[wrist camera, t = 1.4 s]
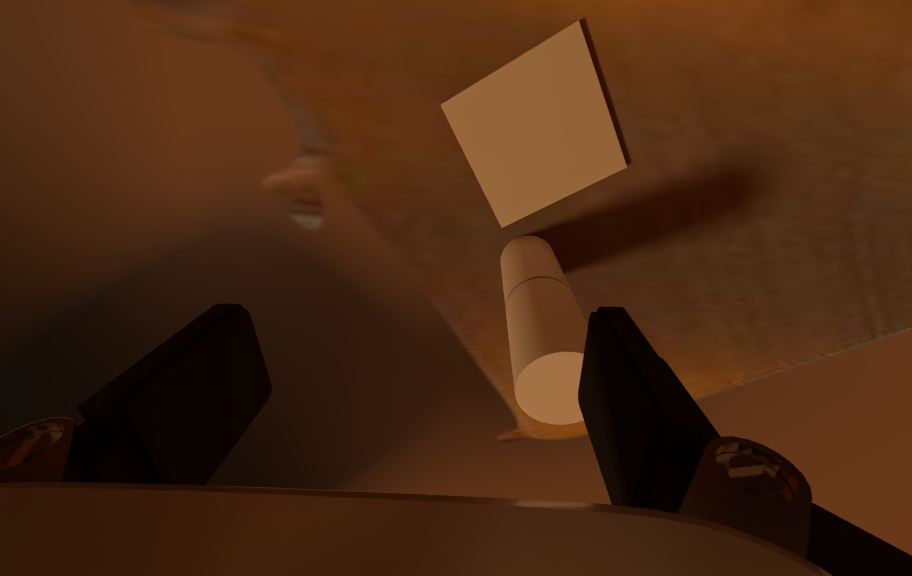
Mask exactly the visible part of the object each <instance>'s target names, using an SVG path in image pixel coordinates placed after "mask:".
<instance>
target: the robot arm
mask: <svg viewBox="0 0 912 576" xmlns="http://www.w3.org/2000/svg"><path fill="white" fill-rule="evenodd" d="M271 391H272V386H271V382H270V378H269V375H268V372H267V369H266V365H265V362H264V359H263V355H262V352H261V349H260V346H259V342H258V339H257V336H256V332H255V329H254V326H253V323H252V319H251V316H250V314H249V312H248V311H247V310H246V309H244V308H243V307H242V306H241V305H239V304H216V305H214V306H213V307H211V308H210V309H208V310H207V311H206V312H204V313H203V314H202V315H200V316H199V317H198V318H196V319H195V320H194V321H192V322H191V323H189V324H188V325H187V326H185V327H184V328H183V329H181V330H180V331H179V332H177V333H176V334H175V335H173V336H172V337H170V338H169V339H168V340H166V341H165V342H164V343H162V344H161V345H160V346H158V347H157V348H156V349H154V350H153V351H152V352H150V353H149V354H147V355H146V356H145V357H144V358H142V359H141V360H139V361H138V362H137V363H135V364H134V365H133V366H131V367H130V368H129V369H127V370H126V371H124V372H123V373H122V374H120V375H119V376H118V377H116V378H115V379H114V380H112V381H111V382H110V383H108V384H107V385H105V386H104V387H103V388H101V389H100V390H99V391H97V392H96V393H95V394H93V395H92V396H91V397H89V398H88V399H86V400H85V401H84V402H82V403H81V404H80V405H78V406H77V408H78V409H79V411H80V413H81V414H82V416H83V418H84V419H85V421H84V422H83V423H82V424H80V425H79V426H78V427H77V426H76V424H75V423H74V421H72V420H71V419H69V418H63V417H57V418H48V419H44V420H41V421H37V422H33V423H31V424H28V425H25V426H23V427H20V428H18V429H15V430H14V431H11V432H9V433H8V434H6V435H4V436H2V437H0V576H912V556H911V555H909V554H907V553H906V552H903V551H902V550H900V549H898V548H896V547H894V546H892V545H891V544H889V543H887V542H885V541H883V540H881V539H879V538H878V537H875V536H874V535H872V534H870V533H868V532H866V531H864V530H863V529H861V528H859V527H857V526H855V525H853V524H851V523H849V522H848V521H845V520H844V519H842V518H840V517H838V516H836V515H834V514H833V513H831V512H829V511H827V510H825V509H823V508H821V507H820V506H817V505H816V504H814V503H812V494H811V488H810V485H809V484H808V482H807V480H806V479H805V477H804V475H803V474H802V473H801V472H800V471H799V470H798V469H797V468H796V467H795V466H794V465H793V464H792V463H791V462H790V461H788V460H787V459H786V458H784V457H783V456H781V455H780V454H779V453H777V452H775V451H773V450H772V449H770V448H768V447H766V446H764V445H762V444H759V443H757V442H754V441H751V440H748V439H744V438H739V437H733V436H729V437H720V435H719V434H718V433H717V431H716V430H715V428H714V427H713V426H712V424H711V423H710V422H709V420H708V419H707V417H706V416H705V415H704V413H703V412H702V411H701V409H700V408H699V407H698V405H697V404H696V402H695V401H694V400H693V398H692V397H691V396H690V394H689V393H688V391H687V390H686V389H685V387H684V386H683V385H682V383H681V382H680V381H679V379H678V378H677V376H676V375H675V374H674V372H673V371H672V370H671V368H670V367H669V365H668V364H667V363H666V362H665V361H664V360H663V359H662V358H660V357H659V356H658V355H657V353H656V352H655V351H654V349H653V348H652V346H651V345H650V344H649V342H648V341H647V339H646V338H645V337H644V335H643V334H642V332H641V331H640V330H639V328H638V327H637V326H636V324H635V323H634V321H633V320H632V319H631V317H630V316H629V314H628V313H627V312H626V310H625V309H624V308H623V307H599V308H598V310H597V312H591V314H590V317H589V323H588V330H587V336H586V343H585V349H584V356H583V362H582V369H581V375H580V382H579V389H578V402H579V407H580V410H581V413H582V416H583V419H584V422H585V425H586V428H587V431H588V434H589V437H590V440H591V443H592V446H593V449H594V452H595V455H596V458H597V461H598V464H599V467H600V470H601V473H602V476H603V479H604V482H605V485H606V488H607V491H608V494H609V497H610V500H611V503H612V505H607V504H595V503H579V502H561V501H547V500H531V499H514V498H492V497H491V498H490V497H469V496H449V495H427V494H405V493H382V492H356V491H334V490H310V489H308V490H307V489H284V488H259V487H258V488H257V487H231V486H205V485H206V484H207V483H208V481H209V480H210V478H211V477H212V476H213V474H214V473H215V471H216V470H217V469H218V468H219V466H220V465H221V463H222V462H223V461H224V459H225V458H226V457H227V455H228V454H229V452H230V451H231V450H232V448H233V447H234V446H235V444H236V443H237V441H238V440H239V439H240V437H241V436H242V435H243V433H244V432H245V430H246V429H247V428H248V426H249V425H250V424H251V422H252V421H253V419H254V418H255V417H256V415H257V414H258V413H259V411H260V410H261V409H262V407H263V406H264V405H265V403H266V402H267V400H268V399H269V397H270V395H271Z"/></svg>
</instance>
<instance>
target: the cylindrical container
mask: <svg viewBox="0 0 912 576" xmlns="http://www.w3.org/2000/svg"><path fill="white" fill-rule="evenodd" d="M501 270H502V280H503V289H504V297H505V306H506V315H507V325H508V334H509V344H510V353H511V361H512V370H513V379H514V388H515V396H516V400H517V402H518V404H519V406H520V407H521V409H522V410H523V411H524V412H525V413H526V414H528V415H529V416H530V417H532V418H534V419H536V420H538V421H541V422H544V423H548V424H557V425H562V424H572V423H576V422H580V421H582V420H584V419H583V416H582V413H581V410H580V407H579V402H578V389H579V382H580V375H581V369H582V362H583V356H584V349H585V343H586V336H587V330H588V326H587V324H586V322H585V320H584V317H583V315H582V313H581V311H580V309H579V307H578V304H577V302H576V300H575V298H574V296H573V294H572V291H571V289H570V287H569V285H568V283H567V280H566V278H565V276H564V274H563V272H562V270H561V267H560V265H559V263H558V261H557V259H556V257H555V254H554V252H553V250H552V248H551V246H550V245H549V244H548V243H547V242H546V241H545V240H543V239H541V238H539V237H536V236H522V237H519V238H516V239H514V240H513V241H511V242H510V243H509V244H508V245H507V246H506V247H505V249H504V250H503V252H502V255H501Z"/></svg>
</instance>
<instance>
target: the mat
mask: <svg viewBox="0 0 912 576" xmlns="http://www.w3.org/2000/svg"><path fill="white" fill-rule="evenodd" d="M441 107H442V109H443V111H444V113H445V115H446V117H447V119H448V121H449V123H450V125H451V127H452V129H453V131H454V133H455V135H456V137H457V139H458V141H459V143H460V145H461V147H462V149H463V151H464V153H465V155H466V157H467V159H468V161H469V163H470V165H471V167H472V169H473V171H474V173H475V175H476V177H477V179H478V181H479V183H480V185H481V187H482V189H483V191H484V193H485V195H486V197H487V199H488V201H489V203H490V205H491V207H492V209H493V211H494V213H495V215H496V217H497V219H498V221H499V223H500V225H501V227H504V226H506V225H508V224H511V223H513V222H515V221H517V220H519V219H521V218H523V217H525V216H527V215H529V214H531V213H533V212H535V211H537V210H539V209H542V208H544V207H546V206H548V205H550V204H552V203H554V202H556V201H558V200H560V199H562V198H564V197H566V196H568V195H570V194H573V193H575V192H577V191H579V190H581V189H583V188H585V187H587V186H589V185H591V184H593V183H595V182H597V181H599V180H601V179H603V178H606V177H608V176H610V175H612V174H614V173H616V172H618V171H620V170H622V169H624V168H626V167H627V165H626V162H625V159H624V156H623V153H622V150H621V147H620V144H619V141H618V138H617V135H616V132H615V129H614V126H613V123H612V120H611V117H610V114H609V111H608V108H607V105H606V102H605V99H604V96H603V93H602V89H601V86H600V83H599V80H598V77H597V74H596V71H595V68H594V65H593V62H592V59H591V56H590V53H589V50H588V47H587V44H586V41H585V38H584V35H583V32H582V29H581V26H580V23H579V20H578V21H577V22H575V23H574V24H572V25H570V26H569V27H567V28H565V29H564V30H562V31H560V32H559V33H557V34H556V35H554V36H552V37H551V38H549V39H547V40H546V41H544V42H542V43H541V44H539V45H538V46H536V47H534V48H533V49H531V50H529V51H528V52H526V53H524V54H523V55H521V56H520V57H518V58H516V59H515V60H513V61H511V62H510V63H508V64H506V65H505V66H503V67H502V68H500V69H498V70H497V71H495V72H493V73H492V74H490V75H488V76H487V77H485V78H484V79H482V80H480V81H479V82H477V83H475V84H474V85H472V86H470V87H469V88H467V89H466V90H464V91H462V92H461V93H459V94H457V95H456V96H454V97H452V98H451V99H449V100H448V101H446V102H444V103H443V104H441Z"/></svg>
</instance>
